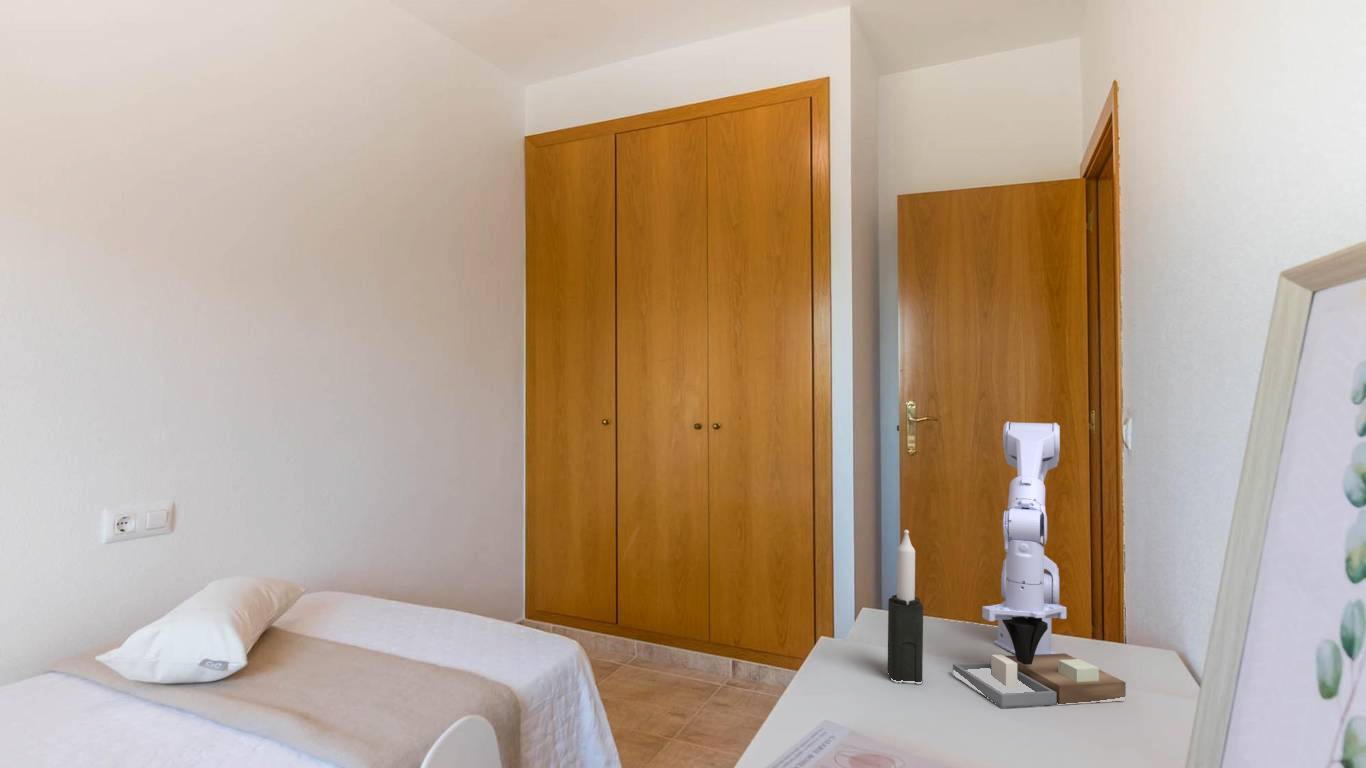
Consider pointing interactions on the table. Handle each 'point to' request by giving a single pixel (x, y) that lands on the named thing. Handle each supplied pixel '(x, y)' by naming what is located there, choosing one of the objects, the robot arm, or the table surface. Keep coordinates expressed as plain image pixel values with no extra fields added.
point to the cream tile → (1004, 670)
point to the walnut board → (1070, 680)
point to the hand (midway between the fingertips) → (1024, 662)
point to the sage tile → (1078, 670)
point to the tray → (1009, 700)
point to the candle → (905, 620)
